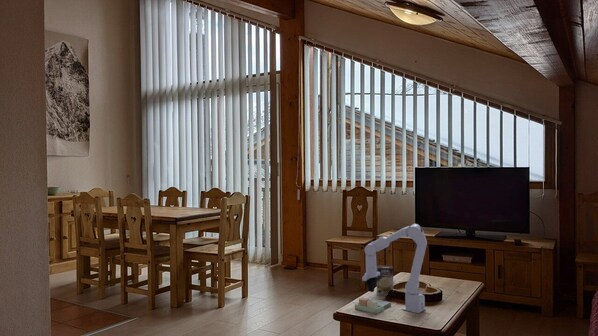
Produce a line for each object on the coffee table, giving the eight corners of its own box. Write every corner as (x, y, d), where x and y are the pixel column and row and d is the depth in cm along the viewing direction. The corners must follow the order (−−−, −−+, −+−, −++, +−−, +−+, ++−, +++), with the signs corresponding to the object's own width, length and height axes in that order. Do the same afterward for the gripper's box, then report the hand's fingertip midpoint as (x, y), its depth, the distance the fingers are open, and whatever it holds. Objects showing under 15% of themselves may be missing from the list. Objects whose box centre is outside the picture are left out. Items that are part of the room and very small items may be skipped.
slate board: (390, 306, 267) (390, 302, 267) (382, 310, 261) (382, 306, 261) (372, 302, 274) (372, 298, 274) (364, 305, 268) (364, 302, 268)
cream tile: (377, 301, 259) (374, 302, 257) (377, 310, 259) (374, 311, 257) (370, 299, 262) (367, 301, 260) (370, 308, 262) (367, 309, 260)
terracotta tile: (369, 299, 263) (365, 300, 261) (369, 307, 263) (365, 309, 261) (362, 297, 266) (358, 298, 264) (362, 306, 266) (358, 307, 264)
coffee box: (377, 296, 285) (376, 268, 285) (376, 292, 292) (376, 265, 291) (393, 296, 284) (393, 268, 284) (392, 293, 291) (392, 265, 290)
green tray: (384, 310, 260) (384, 305, 260) (376, 314, 255) (376, 309, 255) (363, 305, 269) (363, 300, 269) (355, 309, 263) (354, 304, 263)
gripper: (372, 262, 275) (372, 287, 276) (357, 267, 265) (357, 293, 265) (383, 264, 271) (383, 289, 271) (368, 269, 260) (368, 295, 260)
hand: (371, 291), depth 268 cm, fingers closed
